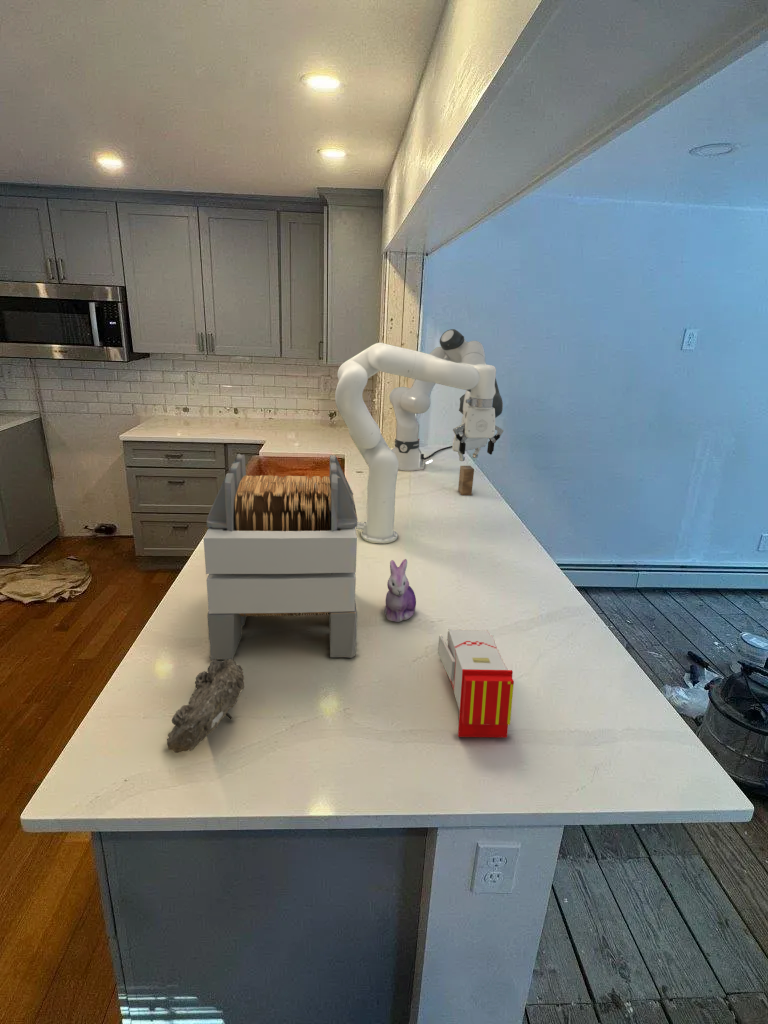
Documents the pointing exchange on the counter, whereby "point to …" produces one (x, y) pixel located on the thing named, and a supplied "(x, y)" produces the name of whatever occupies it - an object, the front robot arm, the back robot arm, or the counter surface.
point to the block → (466, 480)
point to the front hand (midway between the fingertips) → (476, 453)
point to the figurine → (399, 594)
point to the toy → (478, 682)
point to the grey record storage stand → (281, 554)
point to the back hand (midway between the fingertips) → (468, 459)
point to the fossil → (206, 705)
